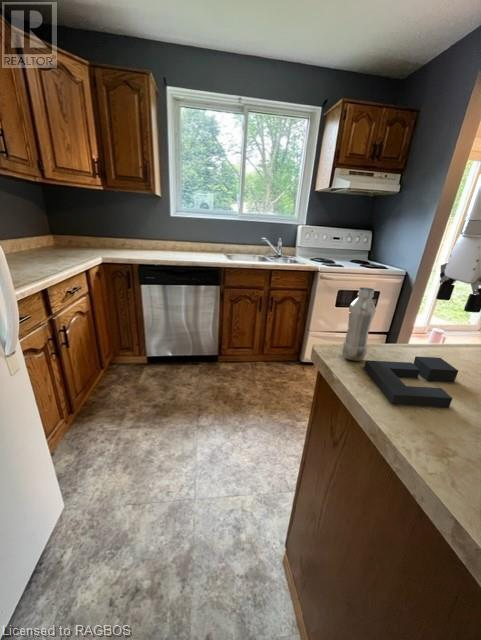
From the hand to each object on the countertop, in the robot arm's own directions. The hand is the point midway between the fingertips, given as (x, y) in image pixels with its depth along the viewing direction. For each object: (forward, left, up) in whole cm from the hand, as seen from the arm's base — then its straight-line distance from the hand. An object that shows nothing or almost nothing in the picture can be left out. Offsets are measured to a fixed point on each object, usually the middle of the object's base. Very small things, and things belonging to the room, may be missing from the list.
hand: (456, 305), depth 65 cm
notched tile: (+13, +8, -18) cm, 24 cm away
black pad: (+2, +2, -18) cm, 18 cm away
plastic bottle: (+20, -5, -19) cm, 27 cm away
